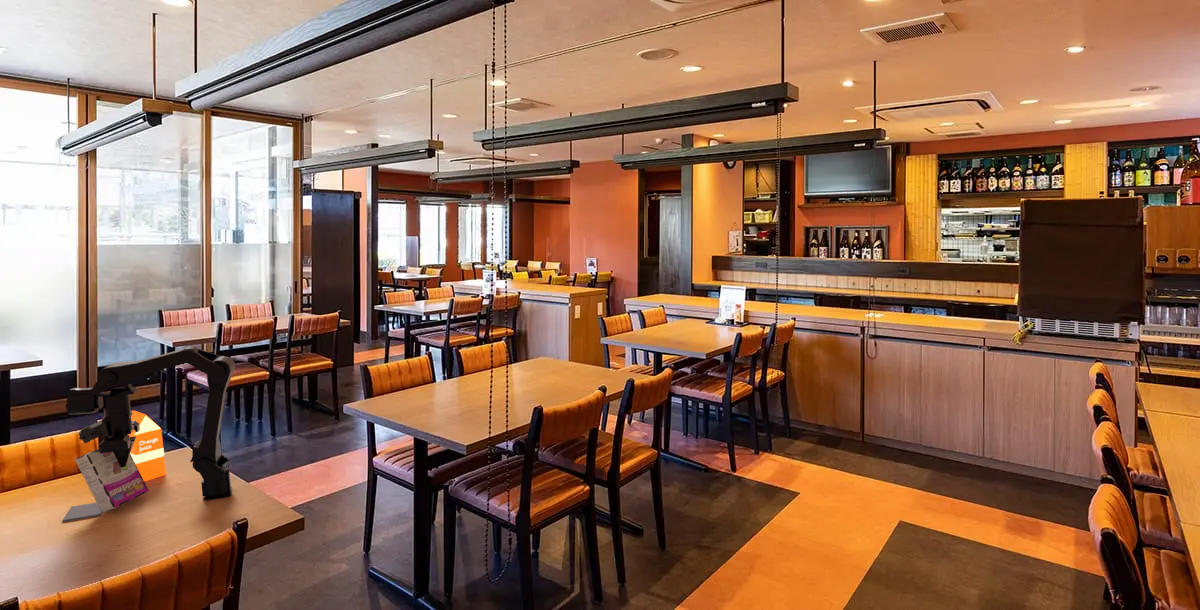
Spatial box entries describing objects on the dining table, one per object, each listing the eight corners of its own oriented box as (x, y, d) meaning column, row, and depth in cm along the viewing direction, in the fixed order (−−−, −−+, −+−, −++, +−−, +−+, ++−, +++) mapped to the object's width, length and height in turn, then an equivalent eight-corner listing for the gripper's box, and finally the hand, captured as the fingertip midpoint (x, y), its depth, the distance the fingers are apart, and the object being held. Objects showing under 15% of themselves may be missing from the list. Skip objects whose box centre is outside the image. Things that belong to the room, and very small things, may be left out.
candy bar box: (136, 497, 186) (111, 444, 185) (150, 491, 185) (124, 438, 184) (100, 514, 175) (73, 458, 175) (114, 508, 174) (86, 452, 173)
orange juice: (138, 483, 196) (131, 418, 193) (124, 477, 200) (117, 413, 198) (166, 474, 202) (160, 411, 199) (153, 468, 207) (146, 406, 204)
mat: (107, 502, 183) (107, 500, 182) (100, 515, 175) (100, 513, 175) (71, 508, 179) (71, 506, 179) (62, 522, 171) (62, 520, 171)
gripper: (88, 405, 182) (94, 460, 184) (70, 425, 165) (77, 484, 167) (137, 400, 186) (142, 453, 189) (124, 419, 170) (130, 477, 172)
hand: (123, 466), depth 179 cm, fingers closed
